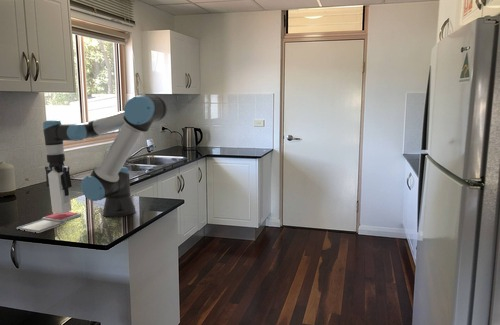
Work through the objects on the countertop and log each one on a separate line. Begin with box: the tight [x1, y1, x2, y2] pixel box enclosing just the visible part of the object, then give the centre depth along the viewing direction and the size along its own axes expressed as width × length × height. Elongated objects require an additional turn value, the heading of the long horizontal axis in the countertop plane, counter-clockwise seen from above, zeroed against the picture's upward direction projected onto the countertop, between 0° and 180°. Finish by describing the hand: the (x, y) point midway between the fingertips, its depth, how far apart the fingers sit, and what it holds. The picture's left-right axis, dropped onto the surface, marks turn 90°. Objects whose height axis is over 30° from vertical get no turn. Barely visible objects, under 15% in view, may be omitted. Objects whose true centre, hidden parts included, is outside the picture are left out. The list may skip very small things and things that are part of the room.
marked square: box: [16, 218, 67, 234], centre depth 182 cm, size 14×14×1 cm
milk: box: [48, 167, 72, 214], centre depth 192 cm, size 6×6×22 cm
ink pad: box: [41, 211, 82, 222], centre depth 194 cm, size 12×12×2 cm
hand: (61, 201), depth 193 cm, fingers closed on milk, 6 cm apart
